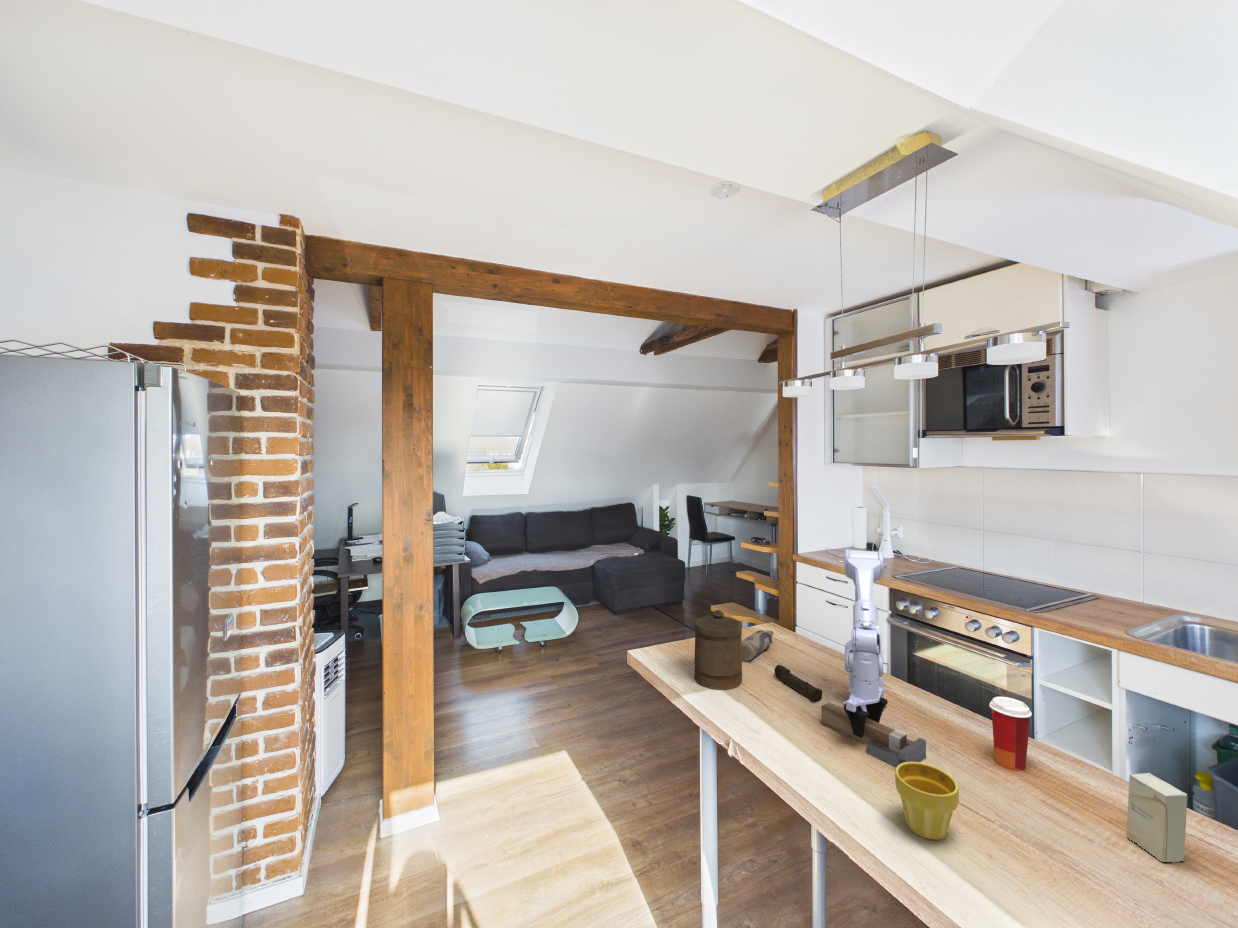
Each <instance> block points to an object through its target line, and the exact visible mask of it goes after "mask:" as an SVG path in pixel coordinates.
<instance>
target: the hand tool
mask: <svg viewBox="0 0 1238 928" xmlns="http://www.w3.org/2000/svg"><path fill="white" fill-rule="evenodd" d="M773 670H774V676H775V678H776V679H777V680H778V681H779V680H780V681H779V682H781V683H782V684H783V685H788V686H790V687H791V688H793V689H795V691H797V692H799V693H801V694H802V695H804V696H805V697H807V698H808V699H810V701H811V702H812V703H819V702H820V701H822V699H823V689H820V688H818V687H816V686H813V685H812V684H810V682H808V681H805V680H803V679H801V678H799V677H798V676H796V675H795V674H793V673H792V672H791V670H790V669H789V668H787V667H785V666H784V665H781V664H777V665H776V666H775V667H774V669H773Z"/></svg>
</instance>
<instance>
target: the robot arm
mask: <svg viewBox="0 0 1238 928" xmlns="http://www.w3.org/2000/svg"><path fill="white" fill-rule="evenodd" d="M844 571H845V573H844V574H845V576H846V578H848V579H850V580H852V582H853V584H854V596H855V597H854V601H855V602H854V603H853V604H852V623H853V624H852V628H851V639H850V640H848V641H847V642H846V643H845V645H844V670H845V672H846V673H848V676H849V677H848V678H849V679H848V680H849V683H848V684H849V685H848V686H849V687H848V693H849V694H848V699H847V700H845V701H843V702H842V705H843V708H844V710H845V712H846V713H847V715H848V717H849V720H850V723H851V727H852V731H853V734H854V735H855V736H858V737H860V738H862V737H863V735H864V728H865V722H866V719H867V718H869V719H871V720H873V721H876V722H878V723H880V721H881V718H882V714H883V712H884V710H885V708H886V707H888V702H889V701H888V699H887V698H884V697H885V683H884V680H883V678H882V677H883V675H884V658H883V649H882V634H881V630H880V626H879V617H878V616H879V615H878V614H879V613H878V606H877V605H876V603H874V602H873V587H874V583H875V582H876V581H880V580H881V579H882V577H883V573H884V554H883V552H882V551H880V550H879V551H873V550H871V551H870V550H858V549H857V550H856V549H848V548H847V549H845V550H844Z"/></svg>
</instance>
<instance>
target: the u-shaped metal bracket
mask: <svg viewBox="0 0 1238 928" xmlns="http://www.w3.org/2000/svg"><path fill="white" fill-rule="evenodd" d="M866 753H867V754H869V755H870V756H873V757H874V758H876V759H879V760H880V761H883V762H884V763H886V764H888V765H890V766H893V767H895V768H896V767H897V766H898V765H899V764H901V763H905V762H920V763H921V762H922V761H923V760H925V759H926V758H927V740H926V739H923V738H920V737H919V738H917V739H915V740H914V741H913V740H911V739H908V738H907V746H906V747H904V748H903V749H901V750H900V751H899V753H898V752H896V751H894V750H892V749H890V748H888V747H886V746H884V745H881V744H879V743H877V742H875V741H873V740H870V741H868V742H867V745H866Z"/></svg>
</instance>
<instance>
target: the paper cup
mask: <svg viewBox="0 0 1238 928" xmlns="http://www.w3.org/2000/svg"><path fill="white" fill-rule="evenodd" d="M988 706H989V708H991V709H990V710H991V719H992V720H991V721H992V723H991V724H992V737H993V741H992V742H993V752H994V754H993V755H994V760H995V763H997V764H998V765H999V766H1000V767H1002V768H1004V769H1007V770H1011V771H1015V772H1023V771H1025V770H1026V765H1027V754H1028V745H1029V734H1030V718H1031V716H1033V714H1032V711H1031V710H1030V707H1029V706H1028V704H1026V703H1025V702H1023V701H1021V700H1018V699H1015V698H1012V697H1007V696H995V697H993V698H992V700H991V701H990V702H989V705H988ZM1024 769H1025V770H1024ZM1022 770H1023V771H1022Z"/></svg>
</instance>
